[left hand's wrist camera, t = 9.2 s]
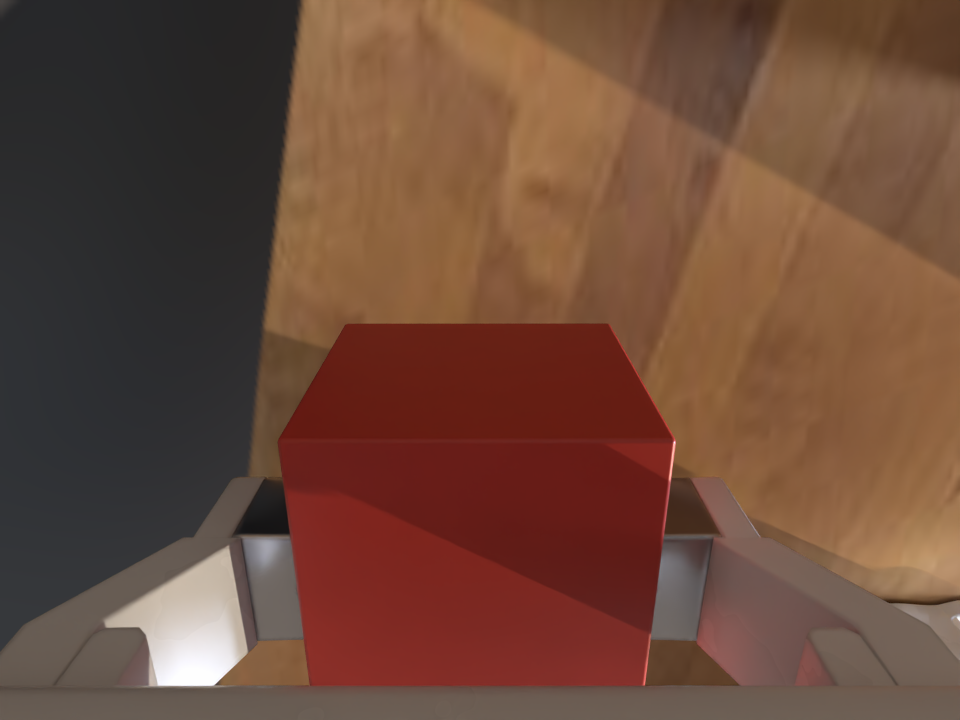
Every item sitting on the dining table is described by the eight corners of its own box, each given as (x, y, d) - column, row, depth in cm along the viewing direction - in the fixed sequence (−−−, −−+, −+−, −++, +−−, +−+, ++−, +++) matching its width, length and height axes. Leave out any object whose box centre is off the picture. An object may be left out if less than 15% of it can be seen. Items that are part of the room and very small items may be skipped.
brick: (345, 323, 11) (275, 440, 8) (610, 322, 11) (677, 439, 8) (364, 554, 13) (315, 745, 9) (591, 554, 13) (638, 744, 9)
